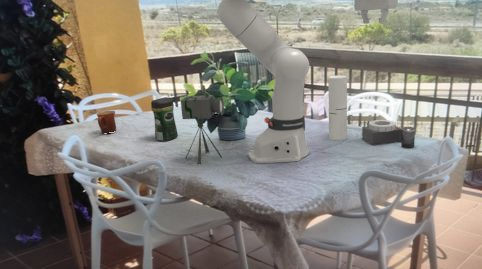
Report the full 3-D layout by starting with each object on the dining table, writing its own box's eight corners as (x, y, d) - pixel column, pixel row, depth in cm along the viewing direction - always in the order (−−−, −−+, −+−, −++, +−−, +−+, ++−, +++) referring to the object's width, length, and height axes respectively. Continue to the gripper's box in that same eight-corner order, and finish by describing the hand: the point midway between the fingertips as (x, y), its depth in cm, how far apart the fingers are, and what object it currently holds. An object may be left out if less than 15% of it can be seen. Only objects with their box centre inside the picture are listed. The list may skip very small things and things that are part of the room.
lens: (405, 149, 147) (406, 130, 145) (398, 145, 151) (399, 127, 149) (417, 147, 147) (418, 129, 145) (410, 144, 152) (410, 126, 150)
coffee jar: (169, 134, 188) (164, 95, 182) (180, 137, 182) (176, 96, 177) (152, 140, 181) (147, 99, 176) (163, 142, 176) (158, 101, 170)
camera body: (373, 145, 153) (373, 128, 151) (361, 138, 162) (361, 121, 160) (402, 142, 154) (403, 124, 152) (389, 135, 164) (390, 118, 162)
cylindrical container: (347, 140, 162) (347, 77, 155) (329, 140, 163) (328, 78, 156) (346, 134, 168) (346, 75, 161) (328, 135, 170) (328, 75, 163)
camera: (180, 165, 146) (172, 98, 139) (190, 151, 161) (184, 90, 154) (222, 165, 144) (216, 96, 137) (229, 151, 159) (224, 88, 152)
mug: (105, 130, 204) (101, 110, 201) (121, 130, 203) (118, 110, 200) (93, 137, 193) (89, 116, 190) (110, 137, 191) (106, 116, 188)
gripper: (349, -15, 147) (349, 24, 151) (385, -21, 128) (384, 24, 132) (364, -16, 148) (364, 23, 152) (401, -22, 130) (400, 22, 133)
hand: (373, 23), depth 142 cm, fingers open, 8 cm apart
